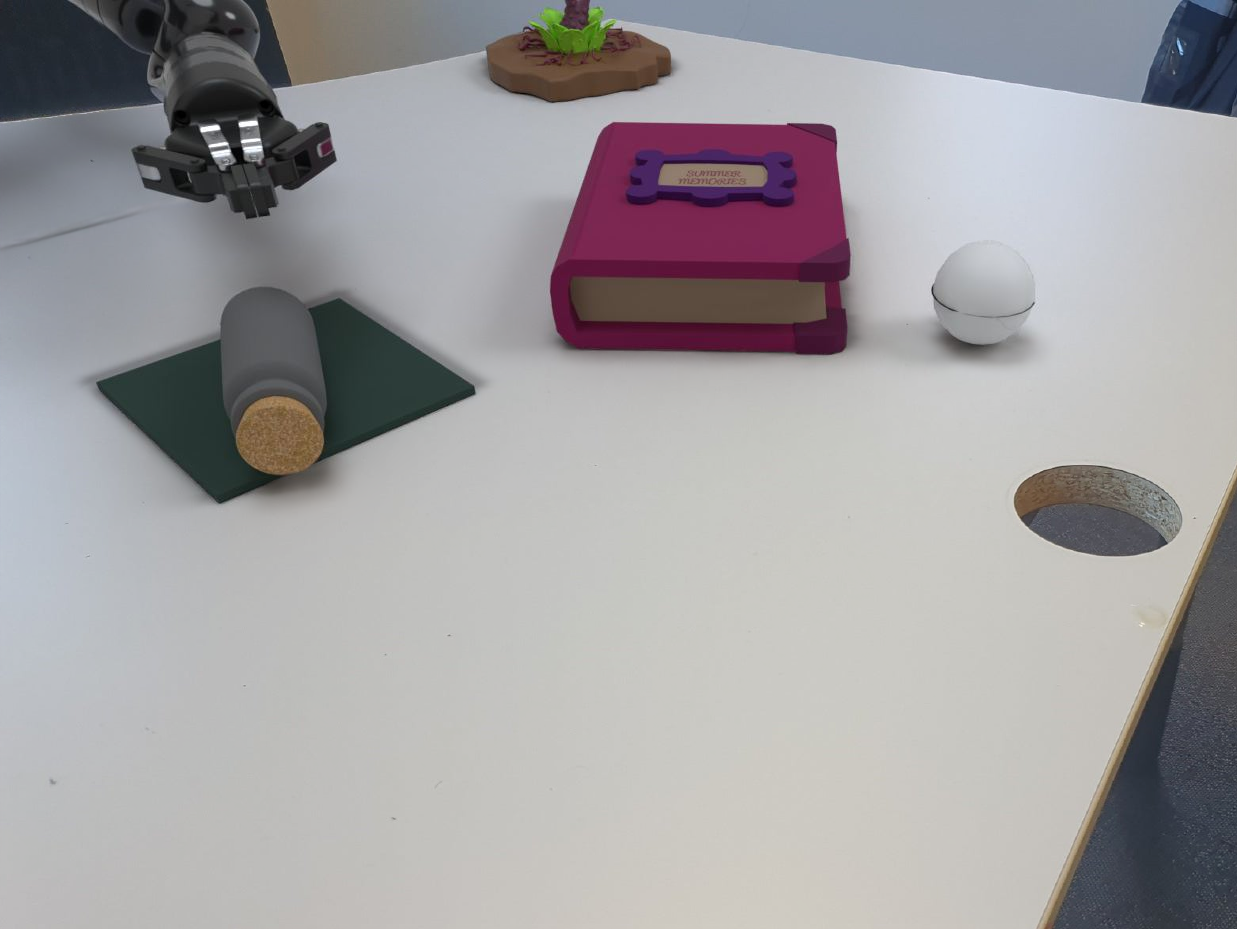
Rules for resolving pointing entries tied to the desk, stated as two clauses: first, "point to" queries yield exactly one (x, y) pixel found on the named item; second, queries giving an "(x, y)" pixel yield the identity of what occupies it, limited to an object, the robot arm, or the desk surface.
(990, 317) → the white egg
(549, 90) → the plant
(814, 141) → the book
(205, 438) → the mat
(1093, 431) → the desk surface
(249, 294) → the bottle
